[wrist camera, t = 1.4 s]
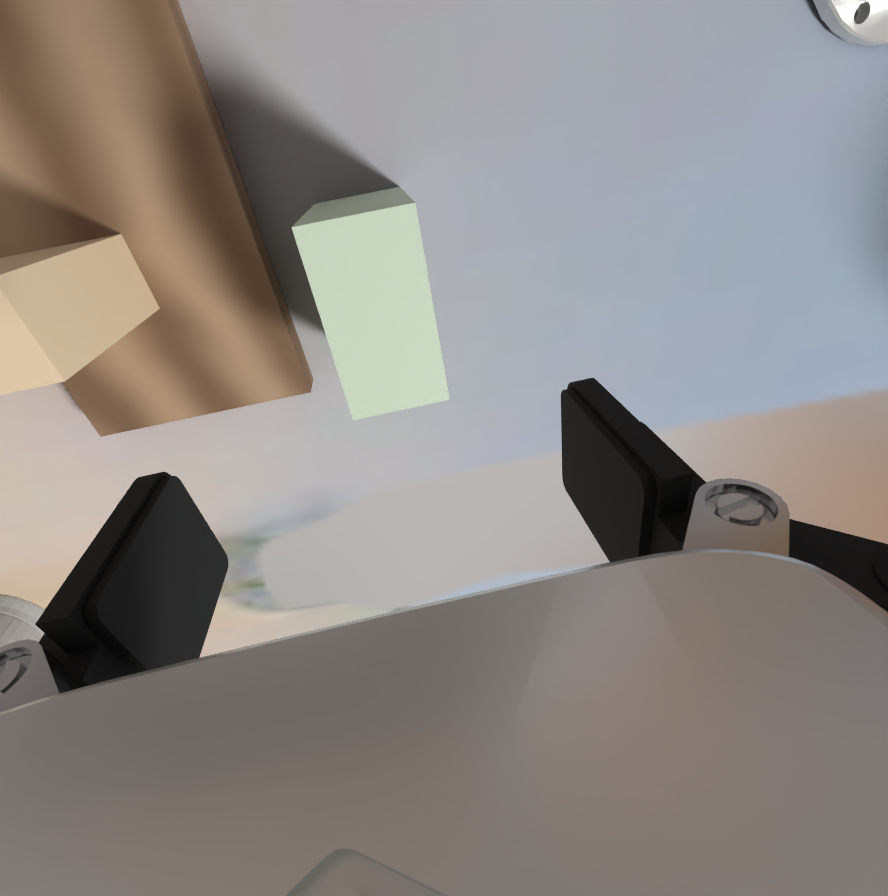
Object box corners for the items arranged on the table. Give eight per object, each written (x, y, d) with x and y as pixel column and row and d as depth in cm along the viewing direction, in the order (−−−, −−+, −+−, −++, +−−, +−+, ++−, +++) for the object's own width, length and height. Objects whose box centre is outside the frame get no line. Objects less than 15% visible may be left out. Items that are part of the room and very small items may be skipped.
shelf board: (20, -439, 15) (-97, -639, 11) (313, 379, 32) (306, 410, 28) (-417, -373, 15) (-693, -558, 11) (114, 421, 32) (79, 458, 28)
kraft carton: (121, 233, 24) (-8, 277, 16) (159, 308, 26) (64, 381, 18) (-13, 260, 24) (-216, 318, 15) (37, 333, 26) (-116, 418, 18)
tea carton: (400, 186, 26) (416, 202, 18) (428, 334, 31) (450, 399, 23) (313, 203, 26) (290, 227, 18) (355, 349, 31) (352, 420, 23)
